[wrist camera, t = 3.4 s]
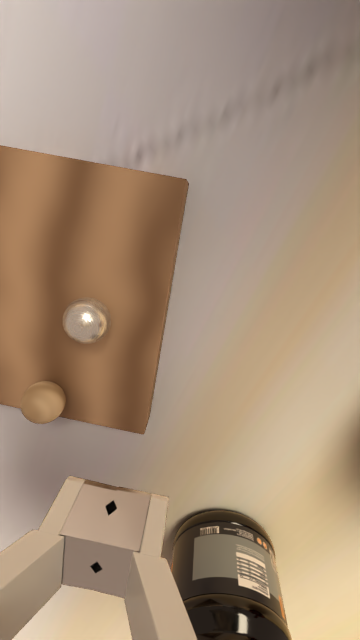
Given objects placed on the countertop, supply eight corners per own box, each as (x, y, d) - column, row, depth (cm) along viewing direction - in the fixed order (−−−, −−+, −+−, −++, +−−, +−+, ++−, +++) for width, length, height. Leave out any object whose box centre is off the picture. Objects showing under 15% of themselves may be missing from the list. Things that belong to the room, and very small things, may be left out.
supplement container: (184, 574, 34) (171, 748, 23) (164, 507, 31) (138, 671, 20) (277, 571, 33) (312, 757, 22) (266, 500, 30) (300, 675, 18)
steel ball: (119, 297, 21) (104, 310, 18) (114, 337, 23) (99, 355, 20) (76, 288, 22) (54, 300, 19) (73, 329, 23) (52, 346, 20)
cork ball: (73, 378, 24) (54, 401, 21) (71, 410, 25) (52, 436, 22) (35, 370, 24) (10, 391, 21) (35, 402, 25) (11, 427, 22)
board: (188, 183, 21) (183, 174, 17) (149, 416, 28) (138, 452, 23) (-135, 124, 22) (-219, 102, 17) (-96, 364, 28) (-149, 390, 24)
